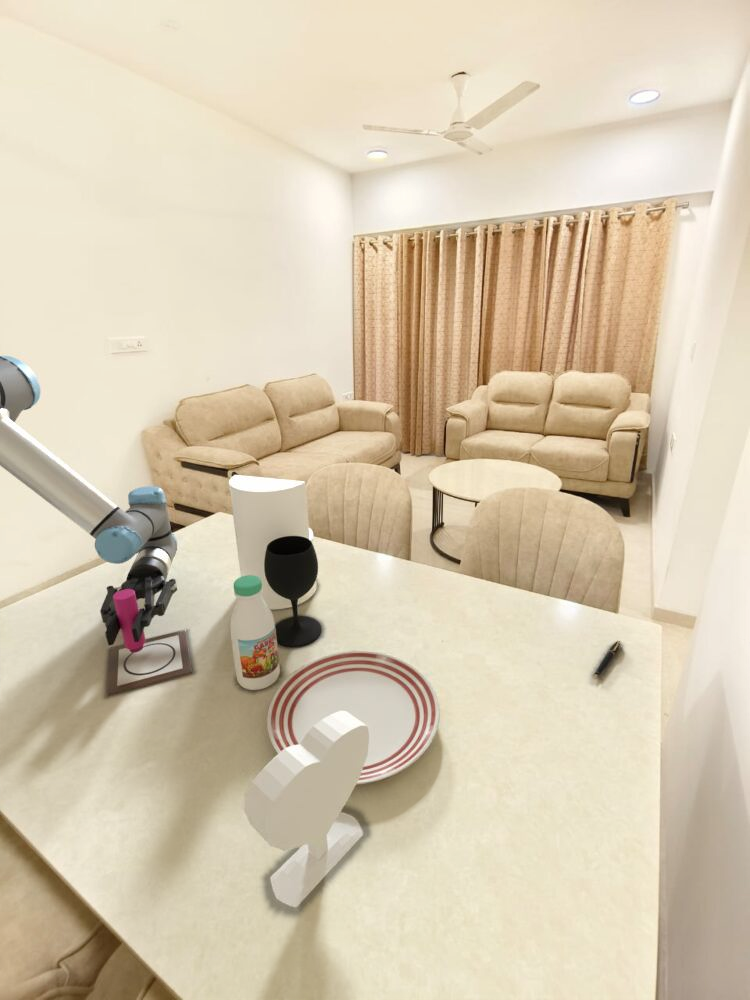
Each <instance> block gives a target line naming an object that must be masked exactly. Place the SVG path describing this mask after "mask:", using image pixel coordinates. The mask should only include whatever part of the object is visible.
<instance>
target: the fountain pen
mask: <svg viewBox="0 0 750 1000" xmlns="http://www.w3.org/2000/svg"><path fill="white" fill-rule="evenodd" d="M620 645H621V640H616V641H615V642H614V644H612V645H611V647H610V648H609V649H608V651H607V653H606V655H605V656H604V657H603V659H602V661H601V662H600V664H599V666H598V667H597V669H596V671H595V672H594V675H593V680H595V679H597V678H599V677H600V676H601V674H602V673H603V672H604V670H605V669H606V668H607V666H608V665H609V663H610V662H611V660H612V659H613V658H614V657H615V655H616V654H617V652H618V650H619V648H620Z"/></svg>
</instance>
